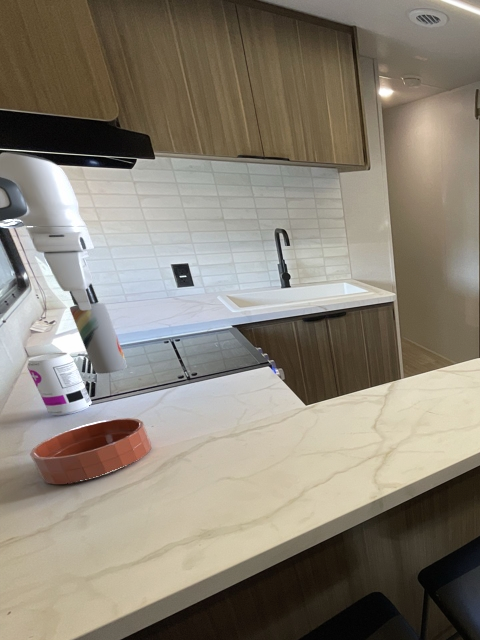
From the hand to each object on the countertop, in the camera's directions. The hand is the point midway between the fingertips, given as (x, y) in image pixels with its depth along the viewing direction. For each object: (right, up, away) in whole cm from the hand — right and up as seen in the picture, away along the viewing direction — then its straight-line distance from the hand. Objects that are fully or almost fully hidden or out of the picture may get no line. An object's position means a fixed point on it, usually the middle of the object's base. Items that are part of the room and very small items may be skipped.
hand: (87, 307), depth 88 cm
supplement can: (-24, -24, +19) cm, 39 cm away
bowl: (+9, -33, -6) cm, 35 cm away
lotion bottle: (0, -14, +5) cm, 15 cm away
